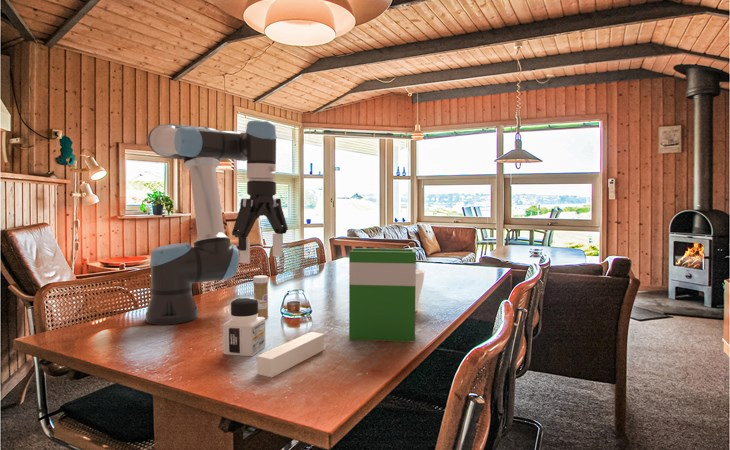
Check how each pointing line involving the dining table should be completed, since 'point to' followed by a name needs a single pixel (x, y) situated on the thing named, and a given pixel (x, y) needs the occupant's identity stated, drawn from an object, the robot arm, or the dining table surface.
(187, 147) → the robot arm
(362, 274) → the hardback book
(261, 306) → the sprinkles bottle
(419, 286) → the cup
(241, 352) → the container
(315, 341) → the white rectangular bar
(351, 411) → the dining table surface
